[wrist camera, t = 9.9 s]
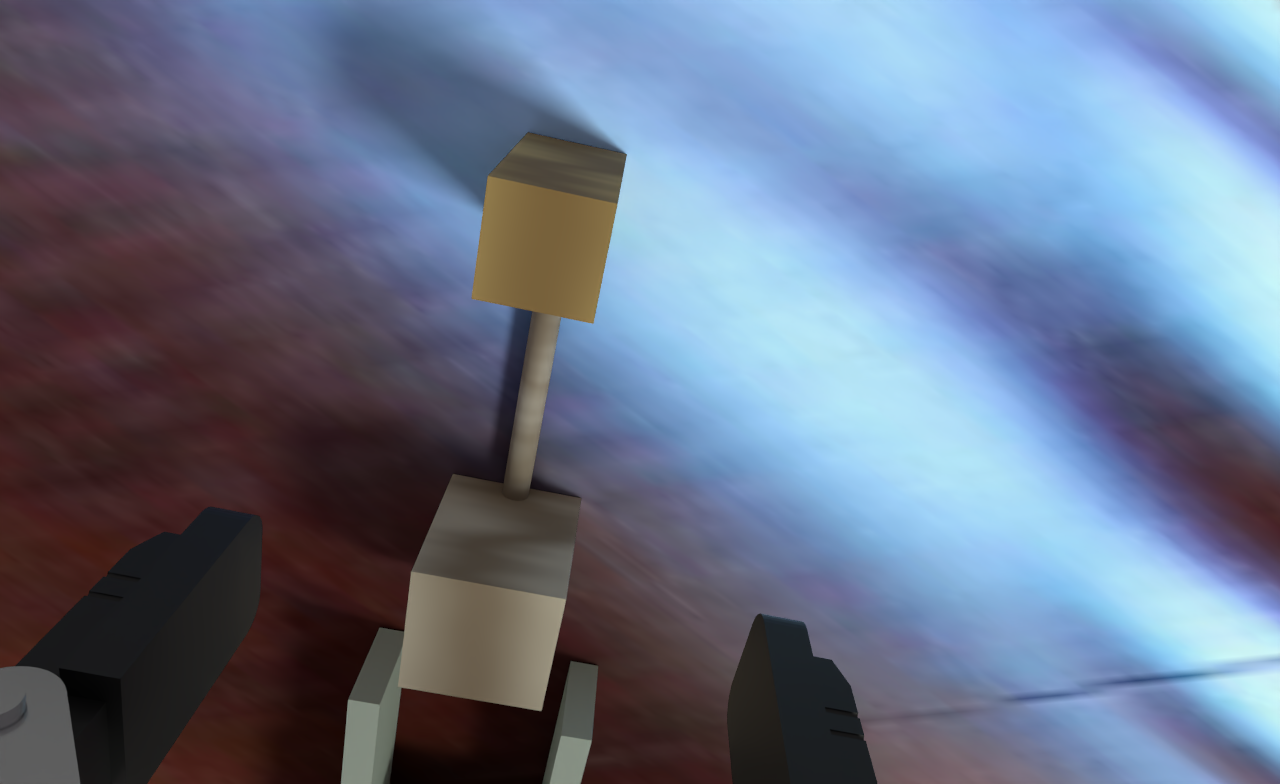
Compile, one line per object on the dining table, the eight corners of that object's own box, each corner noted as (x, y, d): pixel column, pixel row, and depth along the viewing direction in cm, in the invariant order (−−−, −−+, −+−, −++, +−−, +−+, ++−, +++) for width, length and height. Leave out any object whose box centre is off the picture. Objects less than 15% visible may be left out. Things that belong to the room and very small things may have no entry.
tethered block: (654, 160, 27) (653, 211, 21) (559, 598, 35) (537, 733, 28) (499, 125, 27) (450, 167, 20) (438, 576, 34) (389, 709, 28)
